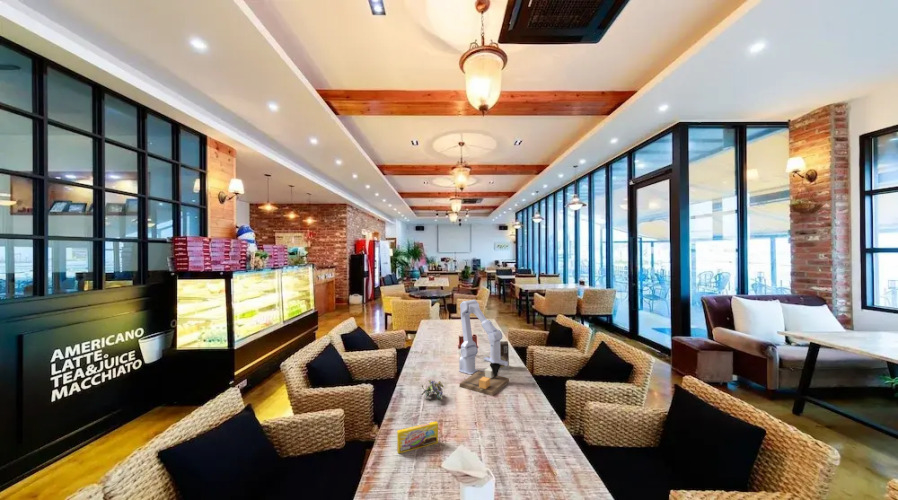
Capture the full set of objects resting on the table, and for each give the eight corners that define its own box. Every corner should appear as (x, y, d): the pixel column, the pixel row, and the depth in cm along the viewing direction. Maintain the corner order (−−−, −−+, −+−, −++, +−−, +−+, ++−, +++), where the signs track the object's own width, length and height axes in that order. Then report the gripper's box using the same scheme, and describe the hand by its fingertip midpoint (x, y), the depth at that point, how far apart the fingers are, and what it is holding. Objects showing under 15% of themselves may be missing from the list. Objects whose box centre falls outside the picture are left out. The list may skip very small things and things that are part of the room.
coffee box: (508, 366, 210) (507, 341, 209) (509, 369, 203) (508, 344, 203) (494, 365, 211) (493, 340, 210) (494, 369, 204) (494, 343, 204)
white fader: (485, 376, 187) (484, 369, 187) (489, 373, 191) (489, 367, 191) (491, 378, 185) (491, 371, 185) (495, 375, 189) (495, 368, 189)
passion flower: (440, 409, 166) (445, 396, 159) (419, 407, 164) (423, 394, 158) (440, 389, 175) (445, 375, 169) (420, 387, 174) (424, 373, 167)
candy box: (398, 454, 122) (398, 432, 122) (396, 451, 124) (396, 429, 124) (438, 443, 129) (438, 422, 128) (436, 440, 131) (436, 420, 130)
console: (458, 387, 179) (458, 384, 179) (478, 374, 197) (478, 370, 197) (490, 396, 167) (490, 392, 167) (509, 381, 186) (509, 377, 186)
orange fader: (479, 387, 173) (478, 379, 173) (483, 383, 177) (483, 376, 177) (485, 389, 171) (485, 381, 171) (490, 385, 175) (490, 378, 175)
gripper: (480, 351, 187) (481, 375, 187) (504, 356, 178) (504, 381, 178) (486, 348, 192) (486, 371, 193) (509, 352, 184) (509, 376, 184)
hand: (495, 375), depth 186 cm, fingers closed
